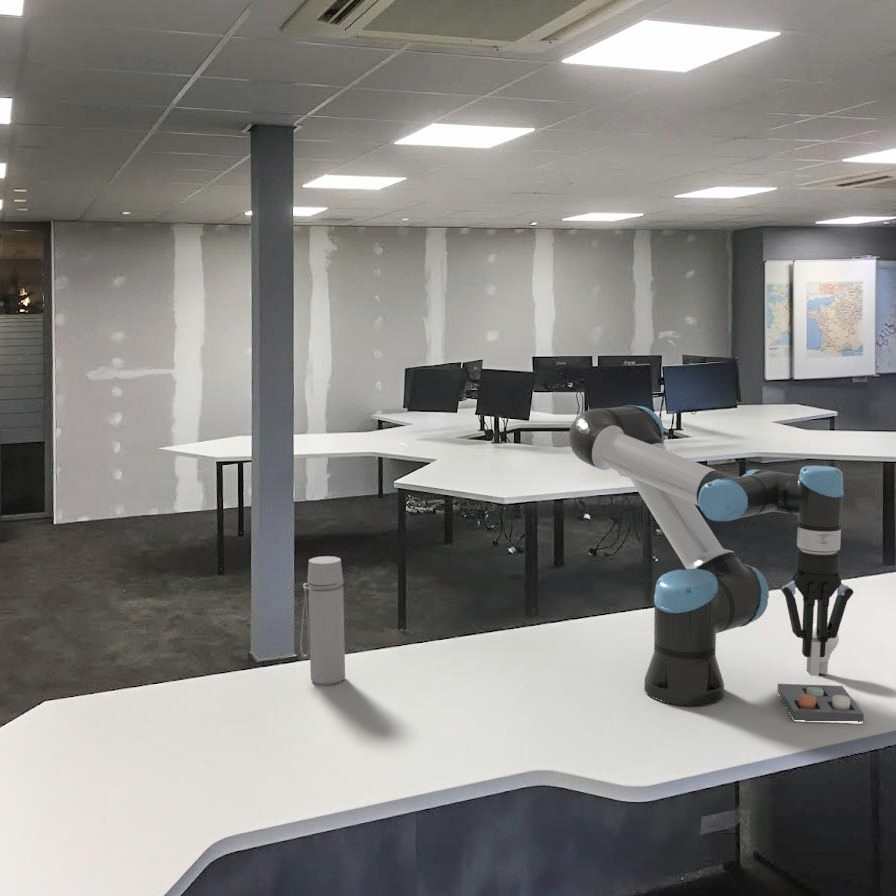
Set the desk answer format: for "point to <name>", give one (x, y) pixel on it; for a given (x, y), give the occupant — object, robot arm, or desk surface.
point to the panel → (818, 704)
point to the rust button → (807, 701)
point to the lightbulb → (826, 650)
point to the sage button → (815, 691)
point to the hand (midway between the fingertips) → (812, 673)
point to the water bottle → (325, 620)
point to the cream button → (840, 702)
